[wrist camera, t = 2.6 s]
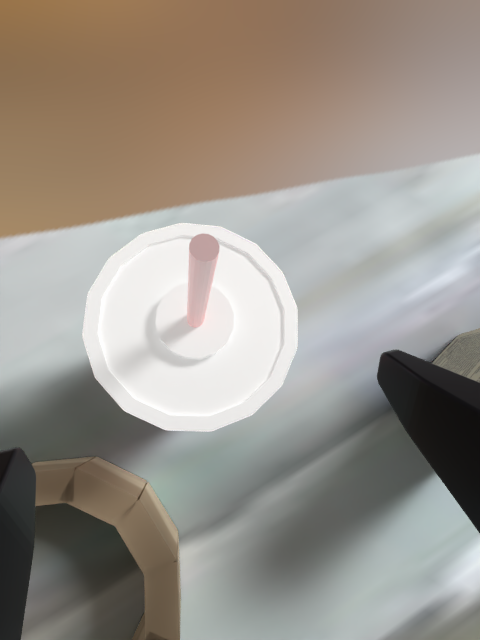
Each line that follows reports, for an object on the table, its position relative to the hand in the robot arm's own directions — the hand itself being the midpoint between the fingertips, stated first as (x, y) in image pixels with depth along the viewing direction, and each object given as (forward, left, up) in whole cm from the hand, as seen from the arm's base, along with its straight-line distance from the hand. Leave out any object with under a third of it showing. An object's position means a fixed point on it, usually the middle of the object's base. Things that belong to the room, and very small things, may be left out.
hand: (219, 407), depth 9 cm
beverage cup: (+2, +2, -10) cm, 10 cm away
